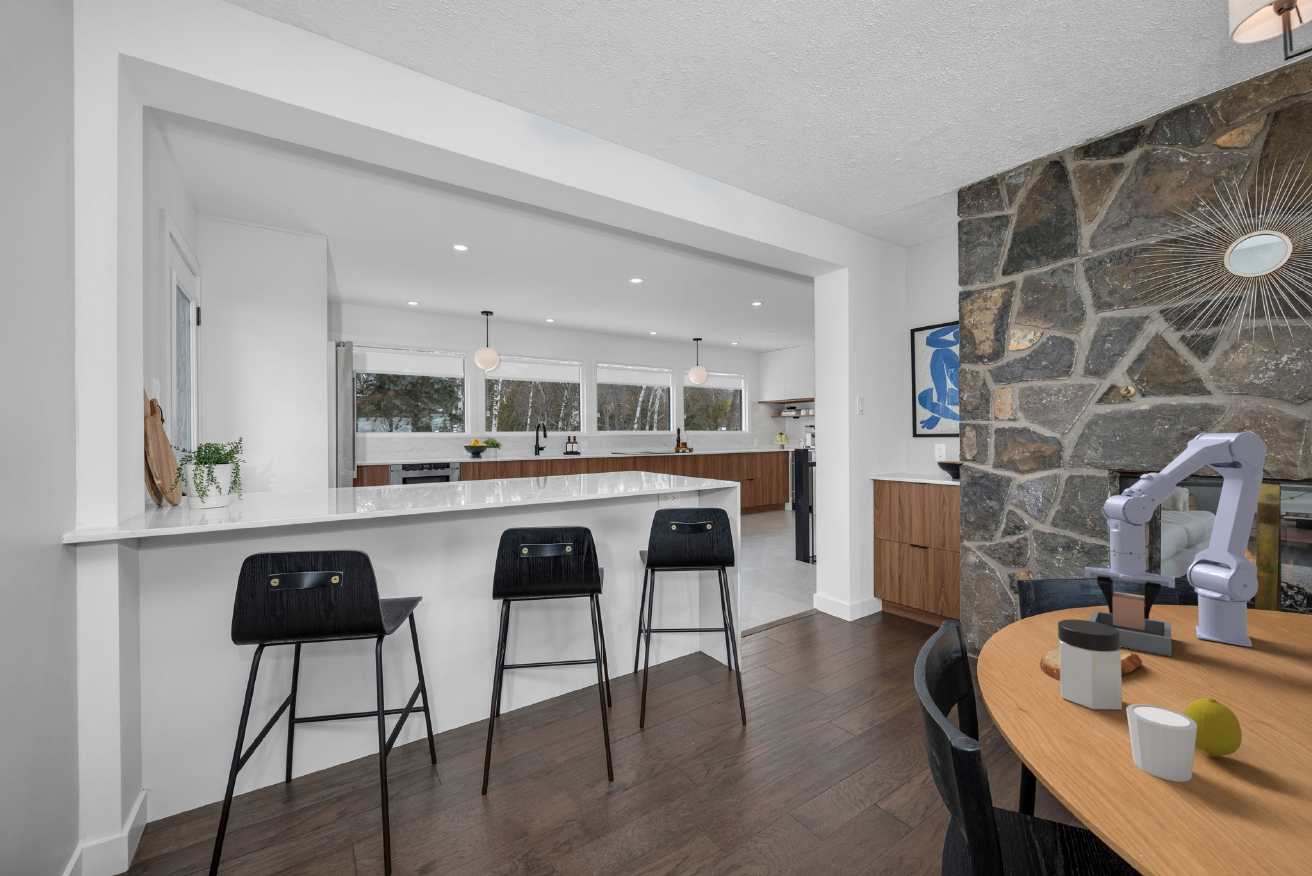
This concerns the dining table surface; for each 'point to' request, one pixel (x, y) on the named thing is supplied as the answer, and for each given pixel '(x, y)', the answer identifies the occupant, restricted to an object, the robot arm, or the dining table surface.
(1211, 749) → the lemon
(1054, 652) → the bread slice
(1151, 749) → the white cup
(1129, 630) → the bin
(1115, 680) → the jar
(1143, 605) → the block
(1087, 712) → the dining table surface
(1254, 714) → the dining table surface
